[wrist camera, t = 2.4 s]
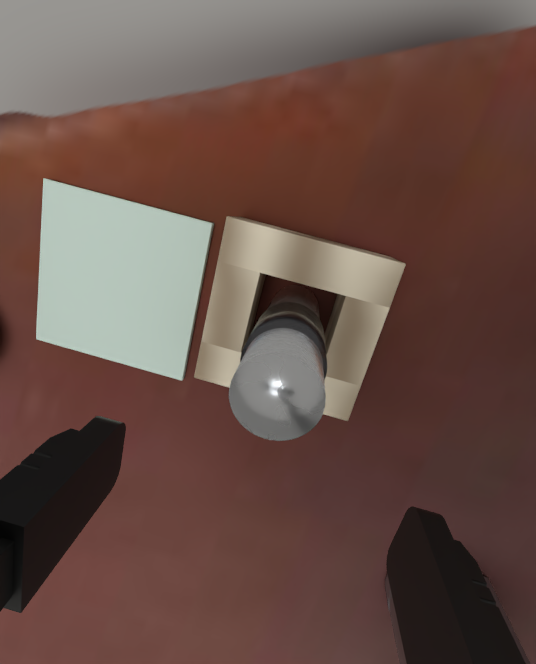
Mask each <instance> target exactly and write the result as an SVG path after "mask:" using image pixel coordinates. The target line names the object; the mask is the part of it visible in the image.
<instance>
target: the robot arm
mask: <svg viewBox="0 0 536 664" xmlns="http://www.w3.org/2000/svg"><path fill="white" fill-rule="evenodd" d="M125 431H126V426H125V424H124V423H122V422H118V421H115V420H111V419H108V418H104V417H101V416H96V417H95V418H93V419H92V420H91V421H90V422H89V423H88V424H87V425H86V426H85V427H83V428H82V429H81V430H80V431H78V430H74V429H69V430H67V431H64V432H62V433H60V434H57V435H55V436H53V437H51V438H49V439H48V440H47V441H46V442H45V443H43V444H42V445H41V446H40V447H39V448H37V449H36V450H35V452H34V453H33V454H32V453H31V454H30V455H29V456H28V457H27V458H26V459H24V460H23V461H22V462H21V464H20V465H17V466H16V467H15V468H14V469H12V470H11V471H10V472H9V473H8V474H6V475H5V476H4V477H3V478H2V479H1V480H0V611H1V610H2V609H3V608H6V609H9V610H13V611H16V612H19V613H21V612H22V611H23V610H24V608H25V607H26V606H27V604H28V603H29V601H30V600H31V599H32V597H33V596H34V595H35V593H36V592H37V591H38V589H39V588H40V586H41V585H42V584H43V582H44V581H45V580H46V578H47V577H48V576H49V574H50V573H51V572H52V570H53V569H54V567H55V566H56V565H57V563H58V562H59V561H60V559H61V558H62V557H63V555H64V554H65V552H66V551H67V550H68V548H69V547H70V546H71V544H72V543H73V542H74V540H75V539H76V538H77V536H78V535H79V533H80V532H81V531H82V529H83V528H84V527H85V525H86V524H87V523H88V521H89V520H90V518H91V517H92V516H93V514H94V513H95V512H96V510H97V509H98V508H99V506H100V505H101V504H102V502H103V501H104V499H105V498H106V497H107V495H108V494H109V493H110V491H111V490H112V488H113V486H114V484H115V482H116V480H117V477H118V475H119V471H120V466H121V459H122V452H123V445H124V438H125ZM385 590H386V595H387V601H388V608H389V611H390V616H391V621H392V626H393V632H394V637H395V642H396V647H397V652H398V657H399V662H400V664H530V662H529V660H528V658H527V656H526V654H525V652H524V650H523V648H522V646H521V644H520V642H519V640H518V638H517V636H516V634H515V632H514V629H513V627H512V625H511V623H510V621H509V619H508V617H507V615H506V613H505V611H504V609H503V607H502V605H501V603H500V601H499V599H498V597H497V595H496V593H495V591H494V589H493V587H492V585H491V583H490V581H489V579H488V578H487V577H484V576H483V574H482V572H481V570H480V568H479V566H478V564H477V562H476V561H475V559H474V558H473V557H472V556H471V555H470V553H469V552H468V551H467V550H466V548H465V547H464V546H463V545H462V543H461V542H460V541H456V540H454V539H453V537H452V535H451V533H450V530H449V528H448V526H447V524H446V521H445V519H444V518H443V516H442V515H440V514H437V513H434V512H430V511H427V510H423V509H420V508H416V507H410V508H409V509H408V510H407V512H406V513H405V516H404V518H403V520H402V522H401V524H400V526H399V528H398V530H397V532H396V535H395V537H394V539H393V541H392V543H391V545H390V547H389V550H388V555H387V576H386V579H385Z"/></svg>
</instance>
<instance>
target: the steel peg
mask: <svg viewBox="0 0 536 664" xmlns="http://www.w3.org/2000/svg"><path fill="white" fill-rule="evenodd" d="M326 374H327V357H326V347H325V338H324V330H323V326H322V323H321V321H320V317H319V305H318V301H317V299H316V297H315V295H314V294H313V293H312V292H311V291H310V290H309V289H307V288H305V287H303V286H299V285H290V286H286V287H284V288H282V289H280V290H279V291H278V292H277V293H276V294H275V296H274V297H273V299H272V301H271V303H270V305H269V307H268V309H267V310H266V311H265V312H264V313H263V314H262V315H261V317H260V318H259V320H258V322H257V323H256V325H255V327H254V329H253V331H252V333H251V334H250V336H249V338H248V340H247V342H246V344H245V346H244V348H243V350H242V353H241V358H240V364H239V366H238V368H237V370H236V372H235V374H234V376H233V378H232V380H231V383H230V388H229V401H230V406H231V409H232V411H233V413H234V415H235V417H236V418H237V420H238V421H239V422H240V423H241V425H242V426H243V427H245V428H246V429H247V430H248V431H250V432H251V433H253V434H255V435H257V436H259V437H262V438H265V439H269V440H276V441H284V440H291V439H295V438H298V437H300V436H302V435H304V434H306V433H307V432H309V431H310V430H311V429H312V428H314V427H315V425H316V424H317V423H318V422H319V420H320V419H321V417H322V414H323V412H324V408H325V402H326V395H325V382H324V380H325V377H326Z"/></svg>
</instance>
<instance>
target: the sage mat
mask: <svg viewBox="0 0 536 664" xmlns="http://www.w3.org/2000/svg"><path fill="white" fill-rule="evenodd" d="M213 227H214V223H211V222H207V221H203V220H200V219H196V218H192V217H188V216H185V215H181V214H177V213H173V212H170V211H166V210H162V209H158V208H155V207H151V206H147V205H143V204H140V203H136V202H132V201H128V200H125V199H121V198H117V197H113V196H110V195H106V194H102V193H98V192H95V191H91V190H87V189H84V188H80V187H76V186H72V185H69V184H65V183H61V182H57V181H54V180H50V179H43V200H42V221H41V243H40V264H39V286H38V307H37V329H36V339H37V340H41V341H44V342H48V343H51V344H55V345H58V346H62V347H65V348H69V349H72V350H76V351H80V352H83V353H87V354H90V355H94V356H97V357H101V358H104V359H108V360H111V361H115V362H118V363H122V364H125V365H129V366H132V367H136V368H139V369H143V370H146V371H150V372H153V373H157V374H160V375H164V376H167V377H171V378H174V379H178V380H181V381H182V380H183V379H184V377H185V371H186V366H187V361H188V356H189V351H190V346H191V340H192V335H193V330H194V325H195V320H196V315H197V310H198V304H199V299H200V294H201V289H202V284H203V279H204V273H205V268H206V263H207V258H208V253H209V248H210V242H211V237H212V232H213Z"/></svg>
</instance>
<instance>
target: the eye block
mask: <svg viewBox="0 0 536 664" xmlns="http://www.w3.org/2000/svg"><path fill="white" fill-rule="evenodd" d="M405 265H406V264H405V263H403V262H401V261H398V260H396V259H394V258H392V257H389V256H386V255H382V254H378V253H374V252H371V251H367V250H363V249H359V248H356V247H352V246H348V245H344V244H341V243H337V242H333V241H329V240H326V239H322V238H318V237H314V236H310V235H307V234H303V233H299V232H295V231H292V230H288V229H284V228H280V227H277V226H273V225H269V224H265V223H262V222H258V221H254V220H250V219H247V218H243V217H231V216H227V218H226V223H225V227H224V232H223V237H222V242H221V247H220V252H219V257H218V262H217V267H216V272H215V277H214V282H213V286H212V291H211V296H210V301H209V306H208V311H207V316H206V321H205V326H204V331H203V336H202V341H201V345H200V350H199V355H198V360H197V365H196V370H195V375H194V378H198V379H201V380H205V381H208V382H212V383H215V384H219V385H222V386H226V387H229V388H230V383H231V380H232V378H233V376H234V374H235V372H236V370H237V368H238V366H239V364H240V358H241V353H242V350H243V348H244V346H245V344H246V342H247V340H248V338H249V336H250V334H251V333H252V329H253V325H254V321H255V317H256V313H257V309H258V305H259V301H260V297H261V293H262V289H263V285H264V281H265V277H266V274H267V275H271V276H274V277H278V278H282V279H285V280H289V281H293V282H296V283H300V284H304V285H307V286H311V287H315V288H319V289H322V290H326V291H330V292H333V293H337V296H336V300H335V303H334V306H333V309H332V312H331V315H330V318H329V322H328V325H327V328H326V331H325V334H324V338H325V347H326V357H327V374H326V377H325V380H324V382H325V395H326V402H325V408H324V412H323V414H324V415H328V416H331V417H335V418H339V419H342V420H346V421H348V419H349V416H350V414H351V411H352V408H353V405H354V403H355V400H356V397H357V395H358V392H359V389H360V387H361V384H362V381H363V378H364V376H365V373H366V370H367V368H368V365H369V362H370V360H371V357H372V354H373V351H374V349H375V346H376V343H377V341H378V338H379V335H380V333H381V330H382V327H383V324H384V322H385V319H386V316H387V314H388V311H389V308H390V306H391V303H392V300H393V297H394V295H395V292H396V289H397V287H398V284H399V281H400V278H401V276H402V273H403V270H404V268H405Z"/></svg>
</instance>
